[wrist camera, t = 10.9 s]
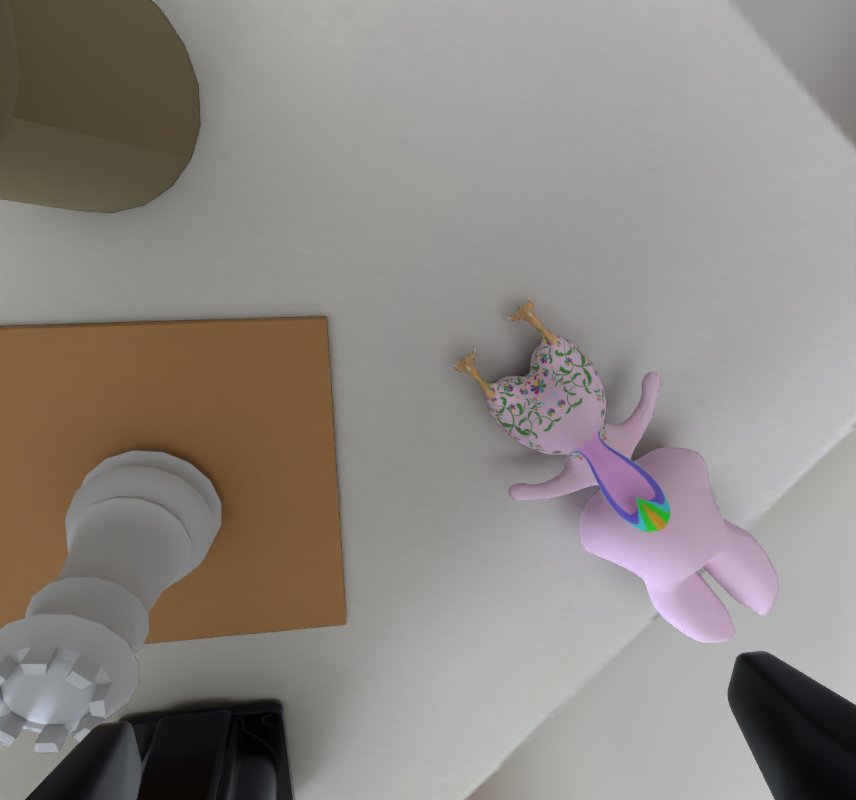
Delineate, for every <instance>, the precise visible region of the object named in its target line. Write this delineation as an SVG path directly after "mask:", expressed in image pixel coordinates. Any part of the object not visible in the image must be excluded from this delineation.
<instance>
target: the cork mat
mask: <svg viewBox="0 0 856 800" xmlns="http://www.w3.org/2000/svg"><path fill="white" fill-rule="evenodd" d="M130 451H151V452H164V453H166V454H169V455H171V456H174V457H176V458H179V459H182V460H184V461H187V462H189V463H191V464H192V465H193V466H194V467H195V468H196V469H198V470H199V471H200V472H201V473H202V474H203V475H204V476H206V477H207V478H208V479H209V480H210V481H211V483H212V485H213V487H214V489H215V491H216V493H217V495H218V497H219V499H220V501H221V527H220V528H219V530H218V532H217V534H216V536H215V538H214V541H213V542H212V544H211V546H210V548H209V550H208V552H207V554H206V556H205V558H204V560H203V561H202V562H201V563H200V564H199V565H198V566H197V567H196V568H195V569H193V570H192V571H191V572H190V573H188V574H187V575H186V576H184V577H183V578H182V579H181V580H179V581H176V582H174V583H173V584H172V585H171V586H169V587H168V588H167V589H164V590H163V592H162V593H161V595H160V596H159V598H158V599H157V601H156V602H155V604H154V605H153V607H152V608H151V610H150V611H149V613H148V620H149V634H148V636H147V638H146V640H145V642H144V643H143V644H149V643H160V642H170V641H181V640H191V639H202V638H212V637H223V636H233V635H244V634H254V633H265V632H275V631H286V630H296V629H307V628H317V627H328V626H338V625H346V606H345V590H344V575H343V559H342V544H341V528H340V512H339V497H338V481H337V466H336V450H335V435H334V419H333V404H332V388H331V373H330V357H329V342H328V326H327V317H326V316H318V317H284V318H251V319H218V320H184V321H151V322H117V323H84V324H51V325H17V326H0V629H2V628H3V627H4V626H5V625H7V624H8V623H11V622H14V621H18V620H21V619H24V618H25V613H26V610H27V608H28V606H29V603H30V601H31V599H32V597H33V596H34V595H35V594H37V593H38V592H39V591H40V590H42V589H43V588H44V587H45V586H47V585H48V584H50V583H53V582H54V581H55V580H56V578H57V577H58V575H59V574H60V572H61V570H62V568H63V565H64V563H65V561H66V559H67V556H68V547H67V538H66V537H67V534H66V525H65V519H66V515H67V511H68V509H69V507H70V504H71V502H72V500H73V497H74V495H75V493H76V491H77V490H78V489H79V488H80V487H81V486H82V483H83V481H84V479H85V476H86V475H87V474H88V473H89V472H91V471H92V470H93V469H94V468H95V467H97V466H98V465H99V464H100V463H101V462H103V461H104V460H105V459H107V458H110V457H113V456H117V455H120V454H123V453H127V452H130Z"/></svg>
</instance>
